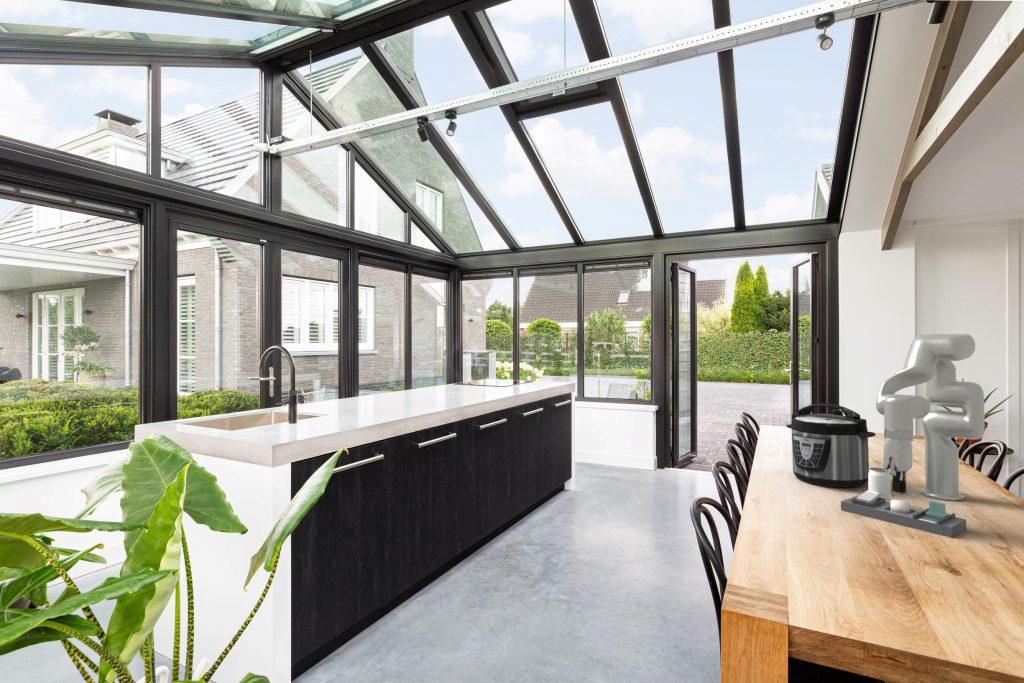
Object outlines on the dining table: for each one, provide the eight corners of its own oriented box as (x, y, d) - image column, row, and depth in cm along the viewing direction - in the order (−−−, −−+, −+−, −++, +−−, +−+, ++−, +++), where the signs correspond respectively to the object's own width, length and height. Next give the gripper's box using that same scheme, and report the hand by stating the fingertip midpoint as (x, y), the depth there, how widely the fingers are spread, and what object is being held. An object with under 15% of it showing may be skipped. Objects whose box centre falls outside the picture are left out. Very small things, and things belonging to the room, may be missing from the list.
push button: (894, 510, 170) (894, 498, 170) (912, 514, 166) (912, 502, 166) (887, 513, 167) (887, 501, 167) (905, 517, 163) (905, 505, 163)
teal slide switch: (930, 512, 163) (930, 499, 163) (949, 516, 159) (949, 503, 159) (925, 514, 161) (925, 502, 161) (944, 519, 157) (944, 506, 157)
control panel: (857, 503, 182) (857, 492, 182) (966, 529, 157) (966, 515, 157) (840, 510, 176) (840, 497, 176) (951, 537, 150) (951, 523, 150)
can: (894, 506, 179) (894, 472, 179) (874, 505, 180) (873, 471, 180) (885, 500, 185) (884, 467, 185) (865, 500, 186) (864, 466, 186)
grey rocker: (867, 493, 178) (867, 489, 178) (880, 496, 174) (880, 492, 174) (856, 501, 174) (856, 497, 173) (870, 504, 170) (869, 500, 170)
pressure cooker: (776, 471, 228) (775, 400, 228) (841, 471, 227) (840, 399, 227) (812, 491, 198) (811, 408, 198) (888, 491, 197) (886, 408, 197)
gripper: (895, 431, 173) (895, 486, 173) (874, 435, 165) (875, 492, 165) (922, 434, 167) (922, 491, 167) (902, 439, 159) (902, 498, 159)
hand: (899, 491), depth 166 cm, fingers closed
